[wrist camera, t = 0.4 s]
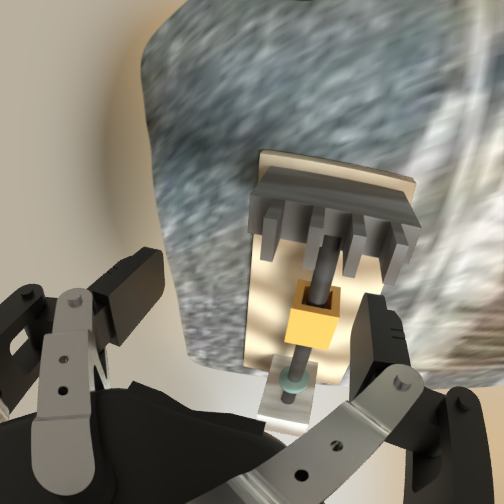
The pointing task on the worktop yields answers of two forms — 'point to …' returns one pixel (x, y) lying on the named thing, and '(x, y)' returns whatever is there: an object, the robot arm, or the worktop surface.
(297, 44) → the worktop surface
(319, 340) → the sleeve
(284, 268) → the cord board
